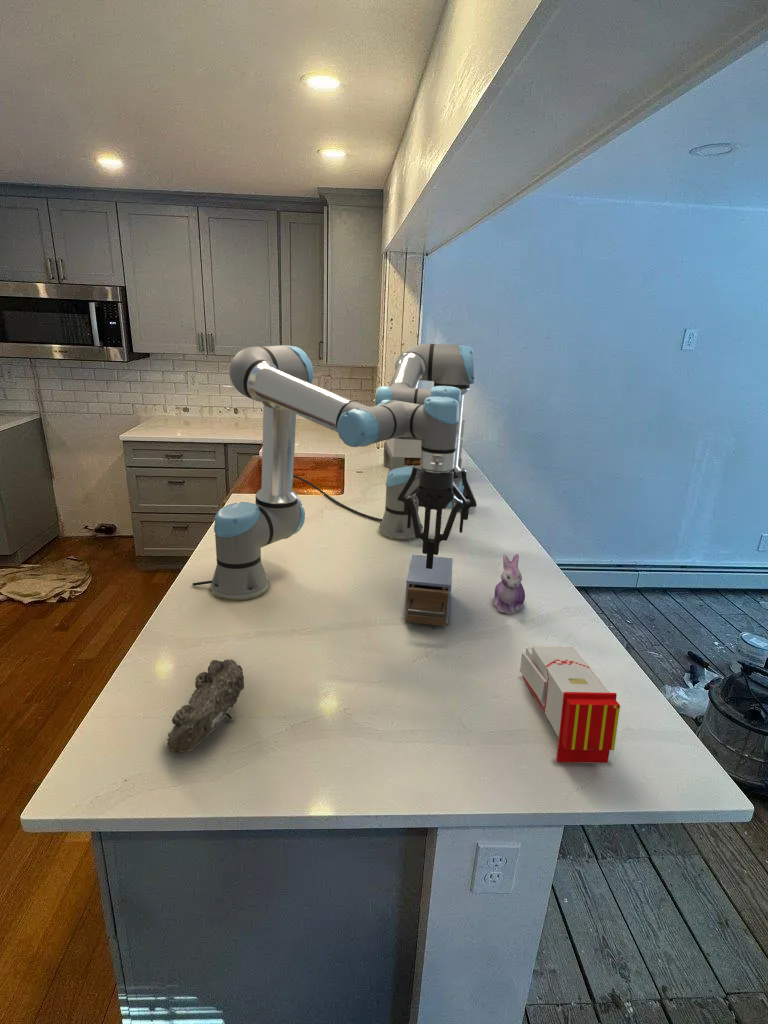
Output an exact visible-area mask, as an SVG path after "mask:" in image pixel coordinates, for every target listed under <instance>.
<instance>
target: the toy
mask: <svg viewBox="0 0 768 1024" xmlns="http://www.w3.org/2000/svg"><path fill="white" fill-rule="evenodd" d="M525 649H526V650H525V652H522V653H521V660H520V666H519V672H520V673H521V675H522V679H523V680H524V682H525V684H526V686H527V687H528V689H529V690H530V692H531V693H532V695H533V697H534V698H535V700H536V701H537V703H538V705H540V707H541V709H542V710H543V712H544V713H545V716H546V718H547V720H548V721H549V723H550V725H551V727H552V729H553V730H554V732H555V734H556V736H557V737H558V742H557V751H556V759H555V760H556V762H557V763H575V764H576V763H577V764H578V763H579V764H581V763H583V764H585V763H586V764H592V763H593V764H608V763H609V756H610V751H615V747H616V739H617V731H618V726H619V725H618V723H619V718H620V717H619V716H620V711H621V710H620V709H621V705H620V703H619V702H618V701H617V696H618V694H617V693H616V692H610V691H609V690H608V688H607V687H606V686H605V685H604V683H603V682H602V681H601V679H600V678H599V677H598V676H597V675H596V674H595V672H594V671H593V670H592V669H591V668H590V665H588V664H587V662H586V661H585V660H584V659H583V657H582V656H581V654H579V652H578V651H577V650H576V649H575V647H574V646H545V645H544V646H543V645H542V646H540V645H535V646H534V645H532V646H531V647H530V646H526V648H525Z"/></svg>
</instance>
